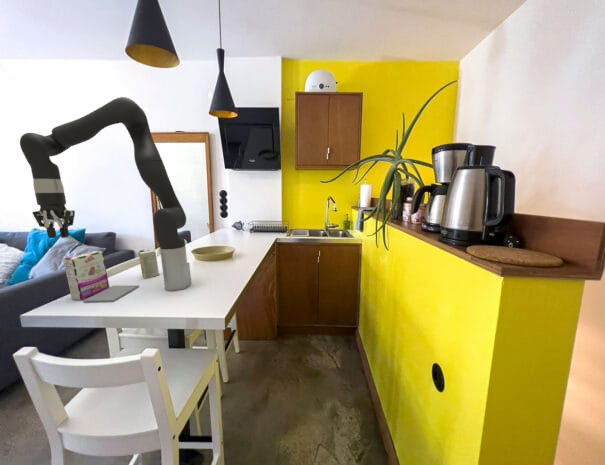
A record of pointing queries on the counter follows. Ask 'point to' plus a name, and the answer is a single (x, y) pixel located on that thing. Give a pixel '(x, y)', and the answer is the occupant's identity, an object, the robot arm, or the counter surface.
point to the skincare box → (148, 264)
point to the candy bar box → (86, 274)
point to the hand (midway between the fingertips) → (58, 237)
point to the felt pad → (111, 294)
